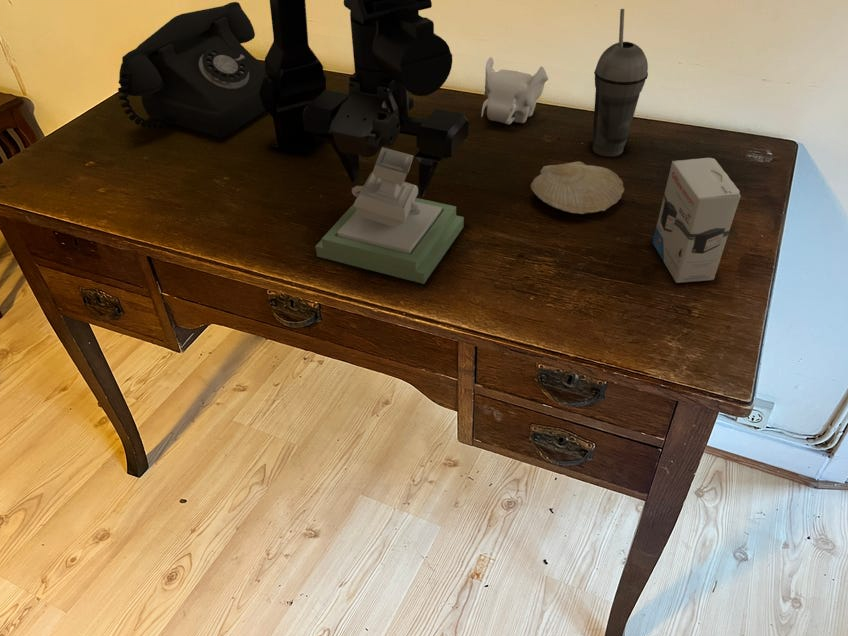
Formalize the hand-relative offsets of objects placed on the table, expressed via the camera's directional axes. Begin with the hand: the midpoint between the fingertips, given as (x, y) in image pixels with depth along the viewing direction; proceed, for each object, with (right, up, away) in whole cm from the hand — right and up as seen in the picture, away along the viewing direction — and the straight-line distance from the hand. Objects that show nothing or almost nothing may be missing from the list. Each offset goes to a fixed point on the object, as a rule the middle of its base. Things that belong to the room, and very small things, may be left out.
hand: (388, 187), depth 90 cm
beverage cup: (+33, +10, +20) cm, 40 cm away
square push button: (0, -4, +4) cm, 6 cm away
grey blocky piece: (-1, -3, +3) cm, 4 cm away
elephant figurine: (+19, +18, +28) cm, 38 cm away
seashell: (+25, +1, +11) cm, 28 cm away
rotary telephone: (-30, +21, +35) cm, 50 cm away
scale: (0, -6, +6) cm, 8 cm away
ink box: (+36, -9, 0) cm, 37 cm away
